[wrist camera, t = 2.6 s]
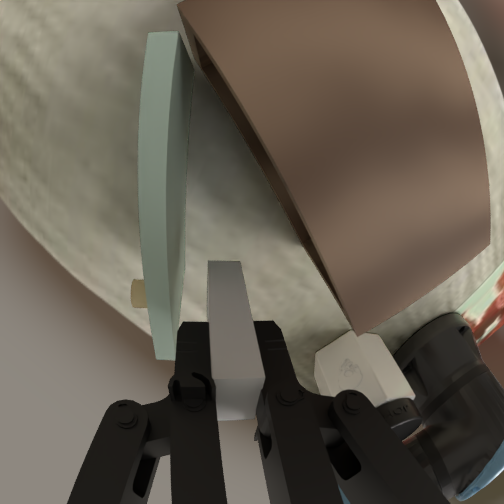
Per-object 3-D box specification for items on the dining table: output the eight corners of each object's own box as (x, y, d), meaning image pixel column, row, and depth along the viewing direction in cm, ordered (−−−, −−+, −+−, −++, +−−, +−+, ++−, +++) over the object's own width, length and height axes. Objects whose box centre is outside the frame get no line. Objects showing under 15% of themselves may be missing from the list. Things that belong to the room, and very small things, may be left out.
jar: (366, 315, 27) (422, 406, 16) (386, 348, 31) (430, 423, 20) (296, 361, 29) (327, 458, 18) (327, 386, 32) (357, 464, 22)
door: (153, 70, 14) (103, 37, 6) (194, 70, 14) (178, 31, 7) (151, 266, 20) (126, 357, 13) (185, 267, 21) (175, 360, 13)
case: (403, 190, 21) (490, 244, 12) (303, 247, 22) (357, 337, 13) (324, 6, 13) (406, -46, 4) (194, 59, 14) (176, 4, 6)
